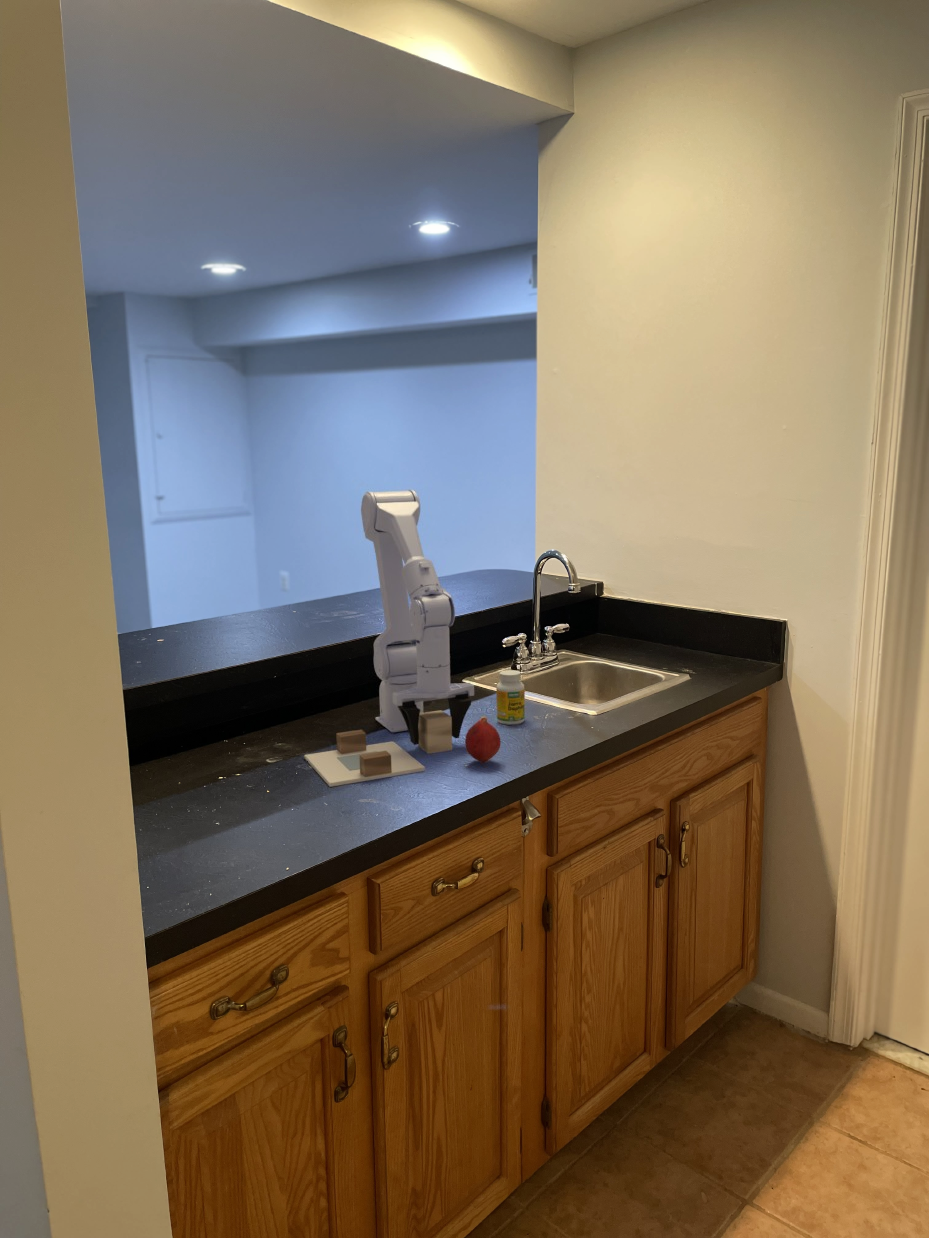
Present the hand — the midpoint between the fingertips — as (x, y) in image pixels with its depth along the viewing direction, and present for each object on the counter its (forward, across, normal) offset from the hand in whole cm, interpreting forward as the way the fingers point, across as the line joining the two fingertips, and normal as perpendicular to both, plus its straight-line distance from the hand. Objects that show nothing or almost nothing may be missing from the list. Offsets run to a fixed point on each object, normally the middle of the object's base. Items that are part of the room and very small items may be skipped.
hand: (435, 739), depth 164 cm
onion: (+2, +4, -11) cm, 12 cm away
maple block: (+2, 0, 0) cm, 2 cm away
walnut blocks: (+2, -14, -2) cm, 14 cm away
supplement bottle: (+2, +19, +8) cm, 21 cm away
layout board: (+2, -14, -2) cm, 14 cm away
